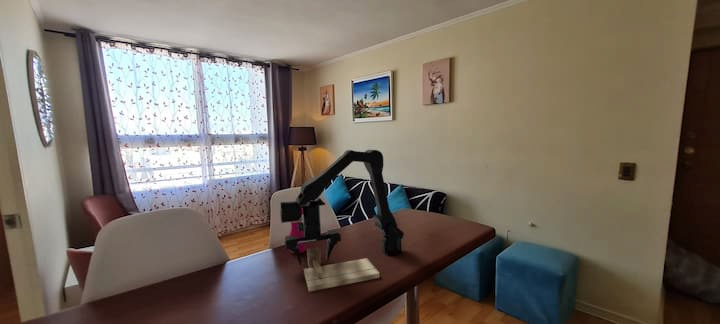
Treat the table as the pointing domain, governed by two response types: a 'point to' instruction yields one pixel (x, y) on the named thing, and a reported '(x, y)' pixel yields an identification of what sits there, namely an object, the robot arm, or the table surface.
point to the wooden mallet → (315, 260)
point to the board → (340, 274)
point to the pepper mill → (298, 233)
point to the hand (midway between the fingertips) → (314, 262)
